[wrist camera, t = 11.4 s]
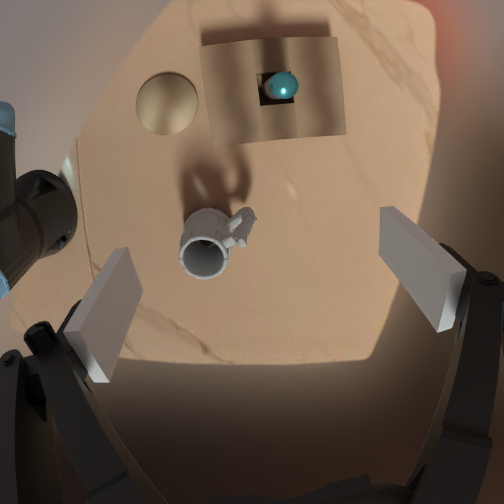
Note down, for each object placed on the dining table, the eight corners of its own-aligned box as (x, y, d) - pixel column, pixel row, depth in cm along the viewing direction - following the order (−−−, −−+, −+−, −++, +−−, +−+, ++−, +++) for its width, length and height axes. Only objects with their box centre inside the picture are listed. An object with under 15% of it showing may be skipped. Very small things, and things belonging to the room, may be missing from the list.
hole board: (215, 144, 44) (213, 147, 40) (202, 50, 37) (198, 46, 34) (338, 132, 43) (346, 134, 40) (329, 40, 37) (336, 36, 34)
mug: (175, 222, 49) (158, 258, 38) (239, 181, 46) (239, 208, 36) (203, 258, 52) (194, 302, 41) (266, 222, 49) (273, 259, 39)
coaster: (142, 140, 43) (141, 140, 42) (132, 82, 39) (131, 82, 38) (202, 128, 42) (201, 129, 42) (193, 68, 38) (193, 68, 38)
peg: (263, 100, 41) (271, 100, 30) (260, 79, 40) (268, 72, 29) (284, 98, 41) (300, 97, 30) (282, 78, 39) (297, 70, 29)
